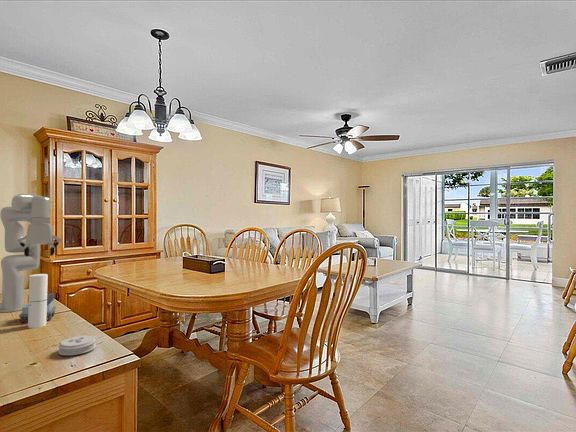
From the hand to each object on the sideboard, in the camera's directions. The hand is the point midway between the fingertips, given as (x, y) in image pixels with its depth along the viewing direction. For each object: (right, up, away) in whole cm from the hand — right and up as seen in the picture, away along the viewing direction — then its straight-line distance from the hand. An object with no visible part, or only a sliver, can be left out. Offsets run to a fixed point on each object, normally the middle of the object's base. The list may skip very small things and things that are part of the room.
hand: (39, 255), depth 157 cm
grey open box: (-8, -35, +10) cm, 37 cm away
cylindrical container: (-1, -35, -1) cm, 35 cm away
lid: (+39, -35, -30) cm, 60 cm away
